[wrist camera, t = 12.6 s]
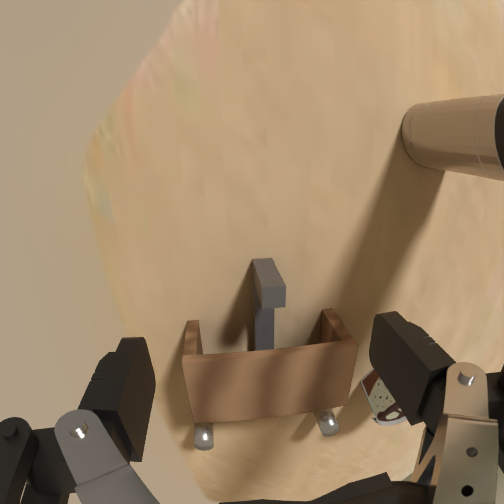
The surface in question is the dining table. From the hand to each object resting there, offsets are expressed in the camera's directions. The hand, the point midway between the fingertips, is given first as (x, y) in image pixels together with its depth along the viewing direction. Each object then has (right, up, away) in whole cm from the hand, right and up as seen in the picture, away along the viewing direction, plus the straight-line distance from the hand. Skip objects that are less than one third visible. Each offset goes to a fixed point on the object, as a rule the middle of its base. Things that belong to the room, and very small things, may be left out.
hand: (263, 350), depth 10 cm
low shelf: (+1, -10, +34) cm, 35 cm away
